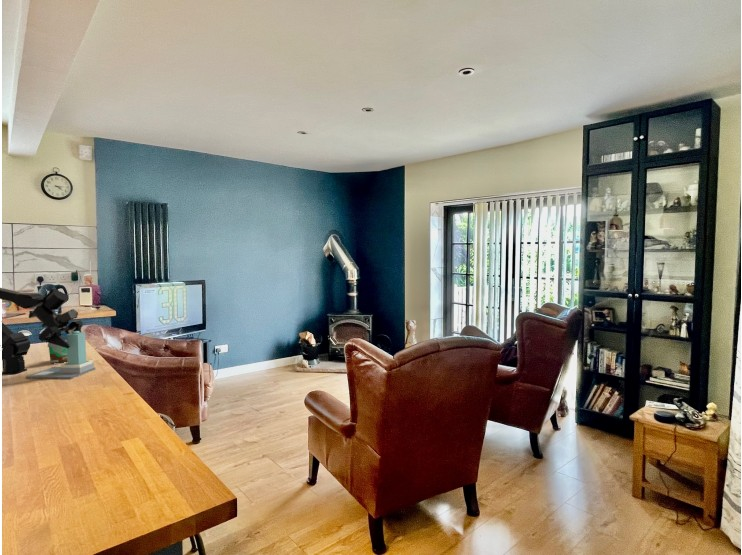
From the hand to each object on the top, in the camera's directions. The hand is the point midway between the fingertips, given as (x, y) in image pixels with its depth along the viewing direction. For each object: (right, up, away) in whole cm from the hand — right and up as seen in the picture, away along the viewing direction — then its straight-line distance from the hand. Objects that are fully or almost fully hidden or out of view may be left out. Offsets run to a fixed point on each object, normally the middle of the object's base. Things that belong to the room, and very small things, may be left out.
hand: (76, 345), depth 178 cm
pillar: (0, -8, 0) cm, 8 cm away
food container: (-18, -10, +18) cm, 27 cm away
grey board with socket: (-5, -11, -1) cm, 13 cm away
